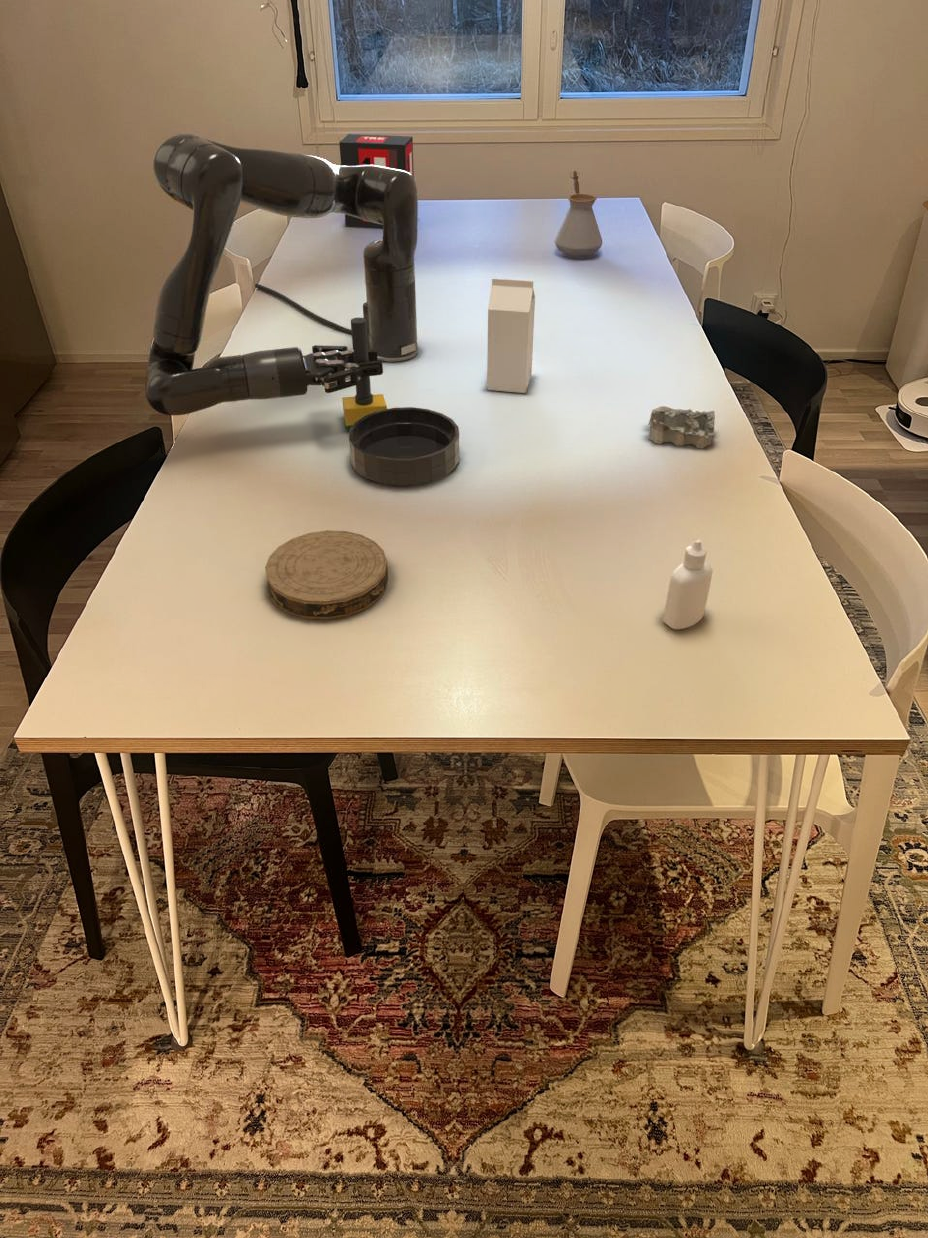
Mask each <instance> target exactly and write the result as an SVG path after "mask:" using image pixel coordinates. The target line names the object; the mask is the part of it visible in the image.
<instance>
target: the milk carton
mask: <svg viewBox="0 0 928 1238" xmlns="http://www.w3.org/2000/svg"><path fill="white" fill-rule="evenodd" d="M534 290H535V289H534V280H521V279H509V278H495V277H493V278H491V289H490V295H489V300H488V302H489V303H488V307H487V356H486V357H487V358H486V359H487V362H486V366H487V367H486V390H488V391H494V392H495V391H497V392H506V393H518V394H519V393H520V394H526V393H527V390H528V387H529V384H530V383H531V379H532V371H533V353H534V352H533V351H534V350H533V349H534V332H535V331H534V329H535V311H536V310H535V307H536V295H535V291H534Z"/></svg>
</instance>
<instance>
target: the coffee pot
mask: <svg viewBox="0 0 928 1238" xmlns="http://www.w3.org/2000/svg"><path fill="white" fill-rule="evenodd" d="M572 174H573V176H572ZM569 176H570V178H571V179H573V188H574V193H573V194H570V195H568V196H567V200H568V201H569V208H568V210H567V212H566V214H565V216H564V219H563V221H562V224H561V225H560V227H559V230H558V232H557V233H556V236H555V238H554V245H555V247H556V249H557V250H558V251H559V252H560V253H561V254H562V256H564V257H566V258H569V259H578V260H580V259H588V258H591V257H593V256H594V254H596V253H597V252H598V251H599V250H600V249H601V247H602V246H603V238H602V234H601V232H600V229H599V225H598V222H597V218H596V216H595V212H594V210H593V206H594V204H595V202H596V201H597V196H594V195H592V194H587V193H580V182H579V178H580V173H579V172H578V171H576V170H574V171H572V172H570V175H569Z"/></svg>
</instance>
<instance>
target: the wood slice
mask: <svg viewBox="0 0 928 1238" xmlns="http://www.w3.org/2000/svg"><path fill="white" fill-rule="evenodd" d="M264 568H265V574H266V581H267V587H268V593H269V598H270V599H271V600H272V601H273V603H274V604H275V605H276V607H277V608H279V609H281V610H282V611H284V612H285V613H287V614H289V615H291V616H294V617H295V616H296V617H299V618H303V619H305V620H306V619H307V620H324V621H325V620H326V621H328V620H336V619H341V618H347V617H351V616H352V615H355V614H358V613H360V612H363V611H365V610H367V609H368V608H370V607H371V606H372V605H374V604H375V603H377V602H378V601H379V600H380V599H381V597H382V596H383V594H384V593H385V592H386V591H387V586H388V581H389V571H388V559H387V557H386V554H385V551H384V549H383V548H382V547H381V546H380V545H379V544H378V543H377V541H375V540H374V539H371V538H369V537H367V536H365V535H363V534H359V533H355V532H352V531H348V530H320V531H313V532H307V533H305V534H301V535H298V536H295V537H293V538H291V539H289V540H287V541H285V542H284V543H283V544H281V545H279V546H277V548H275V550H274V551H273V552H272V553H271V554H270V555H269V556H268V559H267V562H266V565H265V567H264Z"/></svg>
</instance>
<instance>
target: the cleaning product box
mask: <svg viewBox="0 0 928 1238" xmlns="http://www.w3.org/2000/svg"><path fill="white" fill-rule="evenodd" d="M413 139H414V138H413V136H409V135H407V136H406V135H383V134H382V135H381V134H361V133H358V134H357V133H348V134H347V135H346V136H345V137H344V138H342V139H341V140H340V141H338V142H339V144H338V145H339V155H340V157H339V158H340V166H364V165H375V166H381V167H387V168H392V169H397V170H402V171H405V172H408V173H409V174H410V175H411V176H412V177H413V179H414V180H415V176H414V173H415V172H414V144H413V143H414V142H413V141H414V140H413ZM344 220H345V221H344V222H345V223H344V224H345V228H346V227H347V228H362V229H363V228H364V229H382V230H383V225H381V224H377V223H373V222H368V221H365V220H362V219H359V218H356V217H353V216H349V215H346V214H344Z"/></svg>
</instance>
